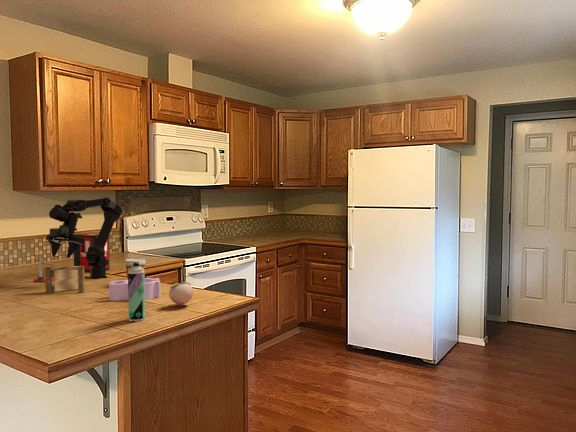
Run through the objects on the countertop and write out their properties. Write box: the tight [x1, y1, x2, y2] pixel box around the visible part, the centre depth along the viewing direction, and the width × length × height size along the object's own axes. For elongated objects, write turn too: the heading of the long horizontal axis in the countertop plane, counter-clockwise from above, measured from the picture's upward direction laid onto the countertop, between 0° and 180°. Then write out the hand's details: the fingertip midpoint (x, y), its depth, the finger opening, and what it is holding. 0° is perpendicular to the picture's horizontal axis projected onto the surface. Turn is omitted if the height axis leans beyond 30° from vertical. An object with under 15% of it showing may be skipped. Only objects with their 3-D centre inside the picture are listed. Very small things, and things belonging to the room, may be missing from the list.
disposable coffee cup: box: [124, 257, 147, 279], centre depth 219 cm, size 10×10×12 cm
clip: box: [108, 277, 161, 302], centre depth 194 cm, size 20×12×7 cm, turn 109°
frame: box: [44, 265, 86, 294], centre depth 203 cm, size 16×2×11 cm, turn 93°
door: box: [52, 270, 78, 292], centre depth 206 cm, size 11×2×10 cm, turn 128°
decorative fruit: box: [168, 280, 194, 306], centre depth 180 cm, size 9×8×10 cm
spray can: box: [127, 262, 146, 322], centre depth 161 cm, size 6×6×20 cm
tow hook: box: [33, 255, 54, 283], centre depth 230 cm, size 8×13×9 cm
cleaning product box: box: [73, 233, 110, 273], centre depth 257 cm, size 16×9×20 cm, turn 68°
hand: (60, 257), depth 216 cm, fingers open, 9 cm apart
